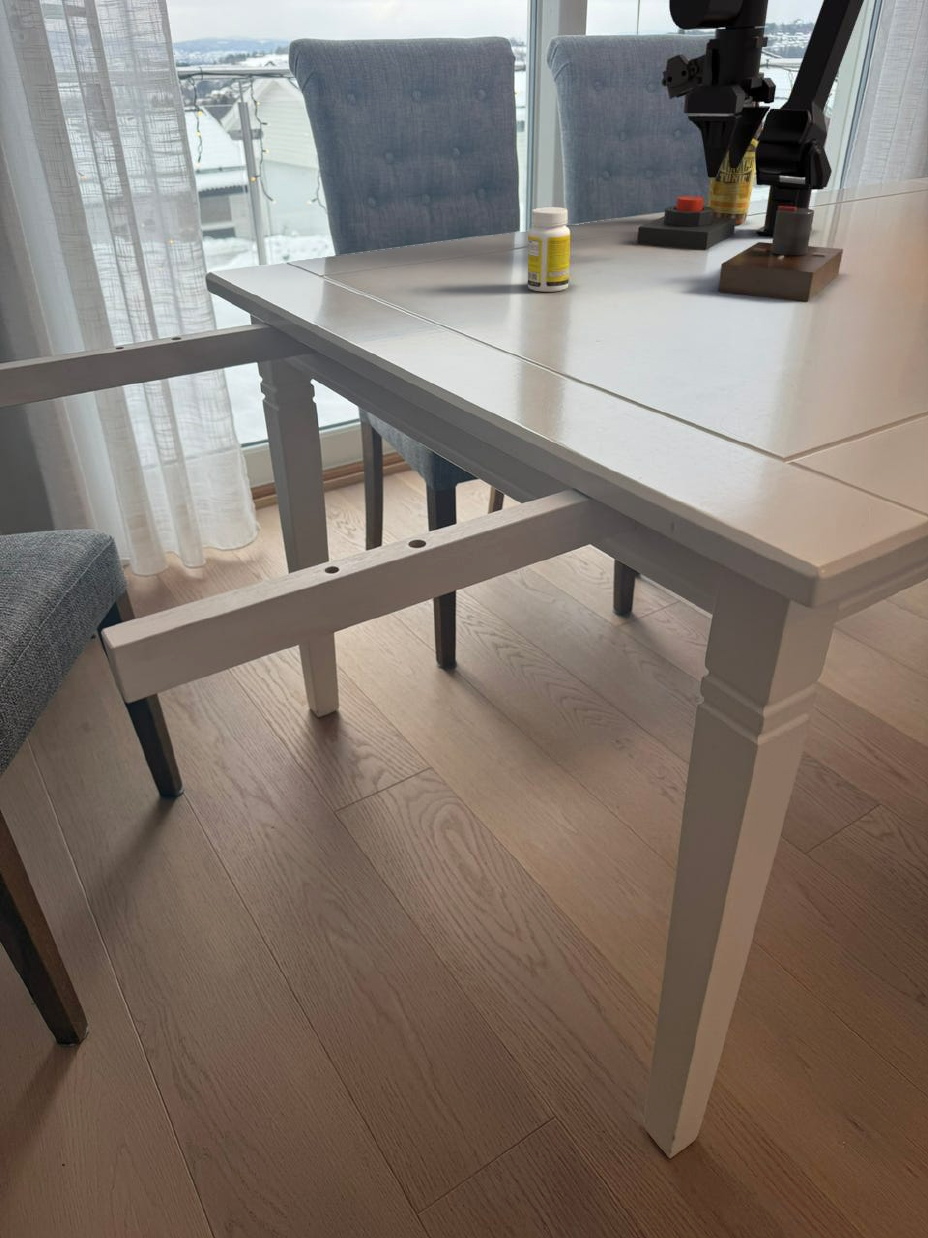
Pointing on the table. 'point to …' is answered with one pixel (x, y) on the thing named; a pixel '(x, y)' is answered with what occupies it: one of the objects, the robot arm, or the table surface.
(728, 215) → the sauce bottle
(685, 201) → the button
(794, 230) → the knob
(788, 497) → the table surface
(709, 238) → the button box
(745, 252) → the knob panel
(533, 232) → the supplement bottle
